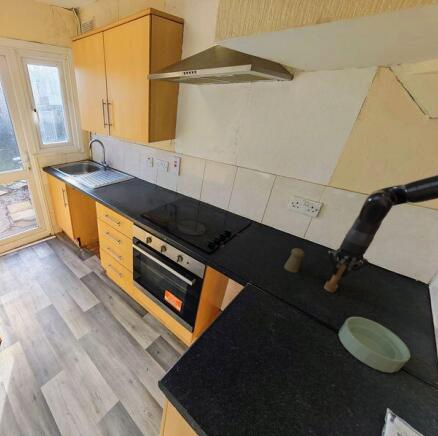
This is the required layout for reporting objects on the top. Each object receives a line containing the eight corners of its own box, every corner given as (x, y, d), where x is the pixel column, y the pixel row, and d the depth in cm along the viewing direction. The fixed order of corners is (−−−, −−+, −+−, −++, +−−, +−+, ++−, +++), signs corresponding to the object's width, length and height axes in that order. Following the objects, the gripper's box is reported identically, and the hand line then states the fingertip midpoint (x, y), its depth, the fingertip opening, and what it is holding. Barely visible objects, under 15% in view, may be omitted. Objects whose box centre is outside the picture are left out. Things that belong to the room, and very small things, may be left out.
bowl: (384, 339, 77) (394, 327, 75) (409, 383, 65) (422, 371, 62) (332, 322, 83) (339, 310, 80) (346, 359, 70) (355, 347, 67)
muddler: (333, 287, 99) (347, 264, 93) (336, 293, 96) (350, 269, 90) (322, 284, 101) (335, 261, 95) (325, 290, 97) (338, 266, 91)
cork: (286, 263, 113) (294, 244, 108) (299, 269, 110) (308, 250, 105) (282, 268, 109) (290, 249, 104) (296, 274, 106) (304, 255, 101)
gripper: (338, 239, 86) (320, 275, 94) (384, 250, 81) (361, 286, 89) (333, 231, 92) (316, 264, 100) (375, 240, 88) (354, 274, 95)
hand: (337, 274), depth 95 cm, fingers closed on muddler, 2 cm apart
